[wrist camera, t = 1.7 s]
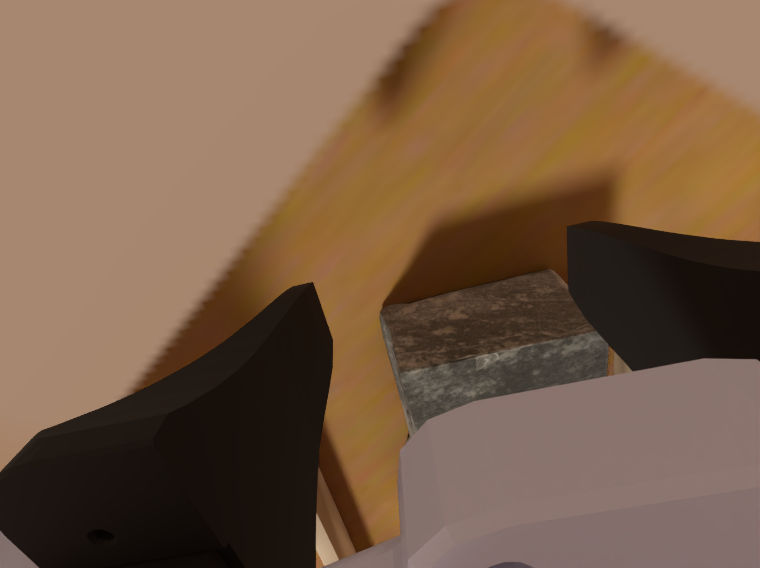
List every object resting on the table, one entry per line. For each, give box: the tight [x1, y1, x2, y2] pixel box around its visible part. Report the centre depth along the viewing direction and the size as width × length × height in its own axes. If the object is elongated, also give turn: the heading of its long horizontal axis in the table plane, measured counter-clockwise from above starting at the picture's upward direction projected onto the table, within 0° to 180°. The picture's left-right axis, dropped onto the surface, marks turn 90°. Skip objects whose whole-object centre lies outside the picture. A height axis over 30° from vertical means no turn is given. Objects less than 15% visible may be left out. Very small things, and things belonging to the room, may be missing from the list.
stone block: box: [380, 269, 609, 442], centre depth 20 cm, size 9×14×5 cm, turn 13°
